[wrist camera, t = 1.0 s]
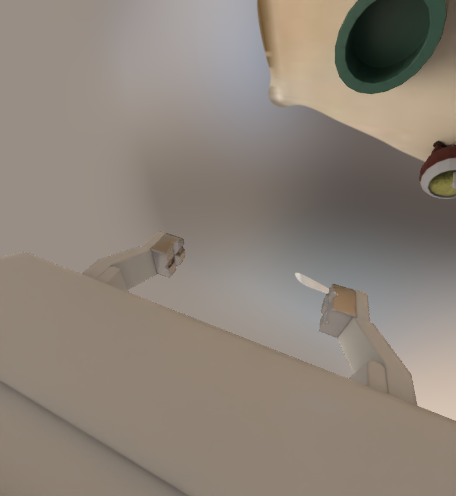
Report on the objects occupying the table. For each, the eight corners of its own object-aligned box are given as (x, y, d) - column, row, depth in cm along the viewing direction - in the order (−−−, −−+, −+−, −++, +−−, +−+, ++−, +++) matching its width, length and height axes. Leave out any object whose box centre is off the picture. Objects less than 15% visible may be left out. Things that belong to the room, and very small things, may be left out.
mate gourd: (444, 180, 40) (441, 244, 33) (407, 154, 40) (395, 213, 32) (501, 147, 33) (513, 218, 26) (458, 115, 33) (457, 179, 26)
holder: (349, -16, 29) (334, -2, 25) (462, -62, 23) (463, -52, 20) (347, 78, 36) (335, 100, 32) (433, 60, 30) (429, 84, 27)
